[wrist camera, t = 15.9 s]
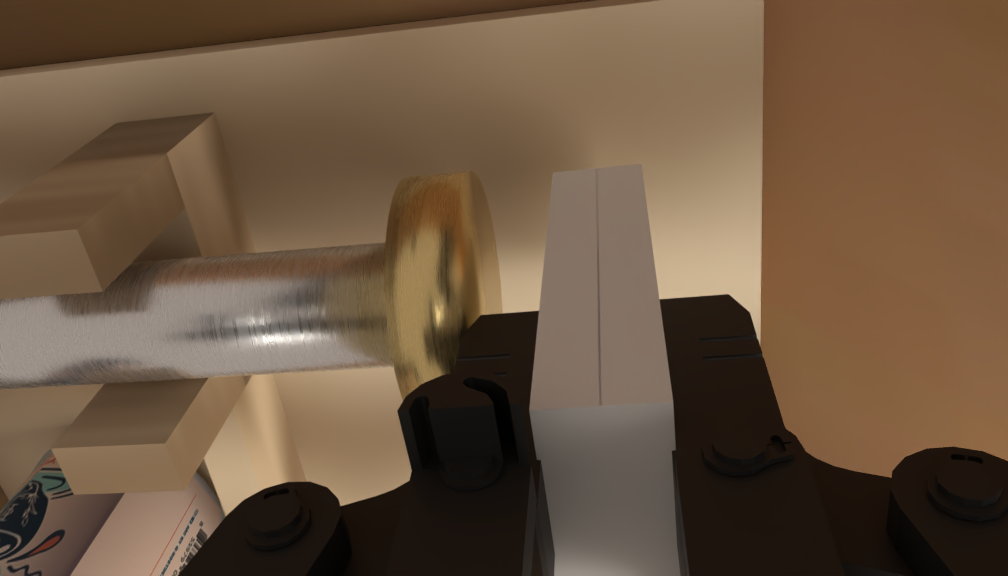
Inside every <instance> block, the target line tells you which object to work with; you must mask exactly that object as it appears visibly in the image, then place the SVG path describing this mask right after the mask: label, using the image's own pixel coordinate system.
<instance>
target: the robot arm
mask: <svg viewBox="0 0 1008 576" xmlns="http://www.w3.org/2000/svg"><path fill="white" fill-rule="evenodd" d="M397 412H398V416H399V420H400V425H401V429H402V433H403V437H404V441H405V445H406V449H407V453H408V457H409V461H410V465H411V469H412V472H411V476H410V480H409V481H408V482H406V483H404V484H403V485H401V486H399V487H397V488H396V489H394V490H391V491H388V492H386V493H383V494H380V495H378V496H374V497H371V498H367V499H364V500H360V501H357V502H353V503H350V504H346V505H343V506H340V502H339V499H338V498H337V497H336V496H335V495H334V494H333V493H332V492H331V490H330V489H329V488H328V487H325V486H322V485H319V484H316V483H313V482H310V481H309V482H286V483H282V484H279V485H275V486H272V487H268V488H265V489H263V490H261V491H259V492H257V493H255V494H254V495H252V496H250V497H248V498H246V499H245V500H243V501H242V502H241V503H240V504H239V505H238V506H236V507H235V508H234V509H233V510H232V511H231V512H230V513H229V514H228V515H227V516H226V517H225V518H224V519H223V521H222V522H221V523H220V524H219V526H218V527H217V528H216V529H215V530H214V532H213V533H212V534H211V535H210V537H209V538H208V539H207V540H206V542H205V543H204V544H203V545H202V547H201V548H200V549H199V550H198V552H197V553H196V554H195V555H194V556H193V558H192V559H191V560H190V561H189V563H188V564H187V565H186V566H185V568H184V569H183V570H182V571H181V573H180V574H179V575H178V576H554V575H555V576H1008V461H1006V460H1004V459H1001V458H998V457H996V456H993V455H991V454H988V453H986V452H983V451H977V450H971V449H964V448H958V447H943V448H930V449H925V450H922V451H920V452H917V453H914V454H912V455H909V456H907V457H905V458H904V459H903V460H902V461H901V462H900V463H899V464H898V465H897V467H896V468H895V469H894V470H893V471H892V478H889V477H884V476H878V475H872V474H866V473H861V472H855V471H851V470H847V469H843V468H839V467H835V466H832V465H830V464H828V463H825V462H823V461H821V460H818V459H816V458H814V457H813V456H811V455H810V454H808V453H807V452H806V451H805V450H804V448H803V446H802V445H801V443H800V442H799V440H798V439H797V437H796V436H795V435H794V434H792V433H791V432H789V431H788V430H787V429H786V428H785V426H784V423H783V420H782V416H781V413H780V410H779V407H778V403H777V400H776V397H775V393H774V390H773V387H772V384H771V380H770V377H769V374H768V370H767V367H766V364H765V360H764V358H763V357H762V351H761V347H760V344H759V341H758V339H757V334H756V331H755V328H754V324H753V321H752V318H751V314H750V312H749V311H748V310H747V309H745V308H744V307H743V306H742V305H741V304H740V303H738V302H737V301H736V300H735V299H734V298H733V297H731V296H730V295H729V294H724V295H710V296H697V297H683V298H670V299H659V292H658V285H657V277H656V270H655V263H654V255H653V248H652V240H651V233H650V225H649V218H648V210H647V203H646V196H645V188H644V181H643V173H642V166H641V164H635V165H625V166H614V167H604V168H594V169H583V170H573V171H562V172H553V176H552V186H551V196H550V206H549V216H548V226H547V236H546V246H545V256H544V266H543V276H542V286H541V296H540V306H539V311H528V312H515V313H501V314H488V315H480V317H479V318H478V319H477V320H476V321H475V322H474V323H473V324H472V325H471V326H470V327H469V329H468V330H467V331H466V332H465V333H464V334H463V335H462V339H461V343H460V347H459V352H458V356H457V362H456V364H455V369H454V373H450V374H445V375H442V376H439V377H437V378H434V379H432V380H430V381H427V382H425V383H423V384H421V385H420V386H419V387H417V388H416V389H415V390H413V391H412V392H411V393H410V394H408V395H407V396H406V397H405V399H404V400H403V402H402V404H401V405H400V407H399V409H398V410H397Z"/></svg>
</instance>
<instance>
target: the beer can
mask: <svg viewBox="0 0 1008 576" xmlns="http://www.w3.org/2000/svg"><path fill="white" fill-rule="evenodd" d="M224 518H225V517H224V514H223V511H222V508H221V505H220V502H219V500H218V499H217V497H216V496H215V494H214V493H213V491H212V490H211V488H210V487H209V485H208V484H207V482H206V481H205V479H204V478H202V477H201V476H200V475H199V474H198V473H197V472H195V474H194V476H193V477H192V479H191V481H190V482H189V484H188V486H187V487H186V489H185V491H160V492H134V493H107V494H80V495H74V494H73V492H72V490H71V488H70V486H69V484H68V482H67V480H66V478H65V476H64V474H63V472H62V470H61V468H60V466H59V464H58V462H57V460H56V458H55V456H54V454H53V452H52V450H51V449H50V450H49V451H47V452H46V453H45V455H44V456H43V457H42V458H41V460H40V461H39V462H38V464H37V465H36V466H35V468H34V470H33V471H32V473H31V474H30V476H29V477H28V478H27V479H26V480H25V482H24V483H23V484H22V485H21V487H20V488H19V489H18V490H17V491H16V493H15V494H14V495H13V496H12V498H11V499H10V500H9V501H8V503H7V504H6V505H5V506H4V507H3V509H2V510H1V511H0V576H178V575H179V574H180V573H181V571H182V570H183V569H184V568H185V566H186V565H187V564H188V563H189V561H190V560H191V559H192V558H193V556H194V555H195V554H196V553H197V552H198V550H199V549H200V548H201V547H202V545H203V544H204V543H205V542H206V540H207V539H208V538H209V537H210V535H211V534H212V533H213V532H214V530H215V529H216V528H217V527H218V526H219V524H220V523H221V522H222V521H223V519H224Z"/></svg>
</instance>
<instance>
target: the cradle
mask: <svg viewBox="0 0 1008 576" xmlns="http://www.w3.org/2000/svg"><path fill="white" fill-rule="evenodd" d="M763 54H764V0H595V1H587V2H578V3H570V4H561V5H553V6H544V7H536V8H527V9H518V10H510V11H501V12H493V13H484V14H476V15H467V16H459V17H450V18H442V19H433V20H425V21H416V22H408V23H399V24H391V25H382V26H373V27H365V28H356V29H348V30H339V31H331V32H322V33H314V34H305V35H297V36H288V37H280V38H271V39H263V40H254V41H246V42H237V43H228V44H220V45H211V46H203V47H194V48H186V49H177V50H169V51H160V52H152V53H143V54H135V55H126V56H118V57H109V58H101V59H92V60H83V61H75V62H66V63H58V64H49V65H41V66H32V67H24V68H15V69H7V70H0V299H12V298H26V297H39V296H53V295H66V294H80V293H93V292H103V291H104V290H105V289H106V288H107V287H108V286H109V285H110V284H111V283H112V282H113V281H114V280H115V279H116V278H117V277H118V276H119V275H120V274H121V273H122V272H123V271H124V270H125V269H126V268H127V267H128V266H129V265H130V264H131V263H132V262H145V261H157V260H170V259H183V258H195V257H208V256H220V255H233V254H246V253H258V252H271V251H284V250H296V249H309V248H321V247H334V246H347V245H359V244H372V243H385V242H386V231H387V223H388V216H389V211H390V206H391V202H392V199H393V195H394V193H395V190H396V188H397V186H398V184H399V183H400V181H401V180H402V179H404V178H405V177H409V176H420V175H431V174H442V173H453V172H465V171H473V172H474V173H475V174H476V175H477V176H478V178H479V179H480V181H481V184H482V186H483V189H484V192H485V195H486V198H487V202H488V205H489V210H490V214H491V219H492V224H493V229H494V235H495V241H496V248H497V255H498V263H499V272H500V282H501V295H502V311H503V313H515V312H528V311H539V306H540V296H541V286H542V276H543V266H544V256H545V246H546V236H547V226H548V216H549V206H550V196H551V186H552V176H553V172H562V171H573V170H583V169H594V168H604V167H614V166H625V165H635V164H641V166H642V173H643V181H644V188H645V196H646V203H647V210H648V218H649V225H650V233H651V240H652V248H653V255H654V263H655V270H656V277H657V285H658V292H659V299H670V298H683V297H697V296H710V295H724V294H729V295H730V296H731V297H733V298H734V299H735V300H736V301H737V302H738V303H740V304H741V305H742V306H743V307H744V308H745V309H747V310H748V311H749V312H750V314H751V318H752V321H753V324H754V328H755V331H756V334H757V339H758V341H759V344H760V324H761V234H762V144H763ZM402 402H403V399H402V396H401V393H400V390H399V387H398V383H397V379H396V375H395V370H394V367H386V368H369V369H351V370H334V371H317V372H299V373H282V374H264V375H247V376H229V377H212V378H195V379H177V380H160V381H142V382H125V383H108V384H90V385H73V386H55V387H38V388H20V389H3V390H0V511H1V510H2V509H3V507H4V506H5V505H6V504H7V503H8V501H9V500H10V499H11V498H12V496H13V495H14V494H15V493H16V491H17V490H18V489H19V488H20V487H21V485H22V484H23V483H24V482H25V480H26V479H27V478H28V477H29V476H30V474H31V473H32V471H33V470H34V468H35V466H36V465H37V464H38V462H39V461H40V460H41V458H42V457H43V456H44V455H45V453H46V452H47V451H49V450H50V449H51V450H52V452H53V454H54V456H55V458H56V460H57V462H58V464H59V466H60V468H61V470H62V472H63V474H64V476H65V478H66V480H67V482H68V484H69V486H70V488H71V490H72V492H73V494H74V495H80V494H107V493H134V492H160V491H185V489H186V487H187V486H188V484H189V482H190V481H191V479H192V477H193V476H194V474H195V472H197V473H198V474H199V475H200V476H201V477H202V478H204V479H205V481H206V482H207V484H208V485H209V487H210V488H211V490H212V491H213V493H214V494H215V496H216V497H217V499H218V500H219V502H220V505H221V508H222V511H223V514H224V517H226V516H227V515H228V514H229V513H230V512H231V511H232V510H233V509H234V508H235V507H236V506H238V505H239V504H240V503H241V502H242V501H243V500H245V499H246V498H248V497H250V496H252V495H254V494H255V493H257V492H259V491H261V490H263V489H265V488H268V487H272V486H275V485H279V484H282V483H286V482H309V481H310V482H313V483H316V484H319V485H322V486H325V487H328V488H329V489H330V490H331V492H332V493H333V494H334V495H335V496H336V497H337V498H338V499H339V502H340V506H343V505H346V504H350V503H353V502H357V501H360V500H364V499H367V498H371V497H374V496H378V495H380V494H383V493H386V492H388V491H391V490H394V489H396V488H397V487H399V486H401V485H403V484H404V483H406V482H408V481H409V480H410V476H411V472H412V469H411V465H410V461H409V457H408V453H407V449H406V445H405V441H404V437H403V433H402V429H401V425H400V420H399V416H398V412H397V410H398V409H399V407H400V405H401V404H402ZM554 576H555V575H554Z"/></svg>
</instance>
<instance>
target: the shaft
mask: <svg viewBox="0 0 1008 576" xmlns="http://www.w3.org/2000/svg"><path fill="white" fill-rule="evenodd" d="M501 313H503V311H502V295H501V282H500V272H499V263H498V255H497V248H496V241H495V235H494V229H493V224H492V219H491V214H490V210H489V205H488V202H487V198H486V195H485V192H484V189H483V186H482V184H481V181H480V179H479V178H478V176H477V175H476V174H475V173H474V172H473V171H465V172H453V173H442V174H431V175H420V176H409V177H405V178H404V179H402V180H401V181H400V183H399V184H398V186H397V188H396V190H395V193H394V195H393V199H392V202H391V206H390V211H389V216H388V223H387V231H386V242H385V243H372V244H359V245H347V246H334V247H321V248H309V249H296V250H284V251H271V252H258V253H246V254H233V255H220V256H208V257H195V258H183V259H170V260H157V261H145V262H132V263H131V264H130V265H129V266H128V267H127V268H126V269H125V270H124V271H123V272H122V273H121V274H120V275H119V276H118V277H117V278H116V279H115V280H114V281H113V282H112V283H111V284H110V285H109V286H108V287H107V288H106V289H105V290H104V291H103V292H93V293H80V294H66V295H53V296H39V297H26V298H12V299H0V390H3V389H20V388H38V387H55V386H73V385H90V384H108V383H125V382H142V381H160V380H177V379H195V378H212V377H229V376H247V375H264V374H282V373H299V372H317V371H334V370H351V369H369V368H386V367H394V370H395V375H396V379H397V383H398V387H399V390H400V393H401V396H402V399H403V400H404V399H405V397H406V396H407V395H408V394H410V393H411V392H412V391H413V390H415V389H416V388H417V387H419V386H420V385H421V384H423V383H425V382H427V381H430V380H432V379H434V378H437V377H439V376H442V375H445V374H450V373H454V369H455V364H456V362H457V356H458V352H459V347H460V343H461V339H462V335H463V334H464V333H465V332H466V331H467V330H468V329H469V327H470V326H471V325H472V324H473V323H474V322H475V321H476V320H477V319H478V318H479V317H480V315H488V314H501Z"/></svg>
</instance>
